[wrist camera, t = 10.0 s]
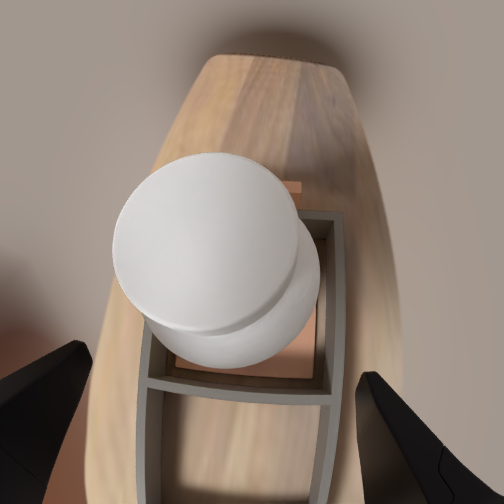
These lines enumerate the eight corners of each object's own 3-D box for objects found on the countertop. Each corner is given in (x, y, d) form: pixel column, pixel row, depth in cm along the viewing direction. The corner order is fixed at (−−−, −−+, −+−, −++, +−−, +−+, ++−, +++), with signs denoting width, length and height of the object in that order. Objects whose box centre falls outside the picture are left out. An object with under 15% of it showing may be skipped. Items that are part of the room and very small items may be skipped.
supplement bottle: (258, 244, 20) (239, 95, 8) (318, 320, 18) (402, 252, 6) (179, 300, 19) (57, 213, 7) (235, 381, 17) (160, 431, 5)
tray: (311, 526, 13) (320, 562, 8) (154, 508, 14) (127, 536, 9) (333, 222, 21) (348, 185, 16) (179, 216, 22) (158, 180, 17)
